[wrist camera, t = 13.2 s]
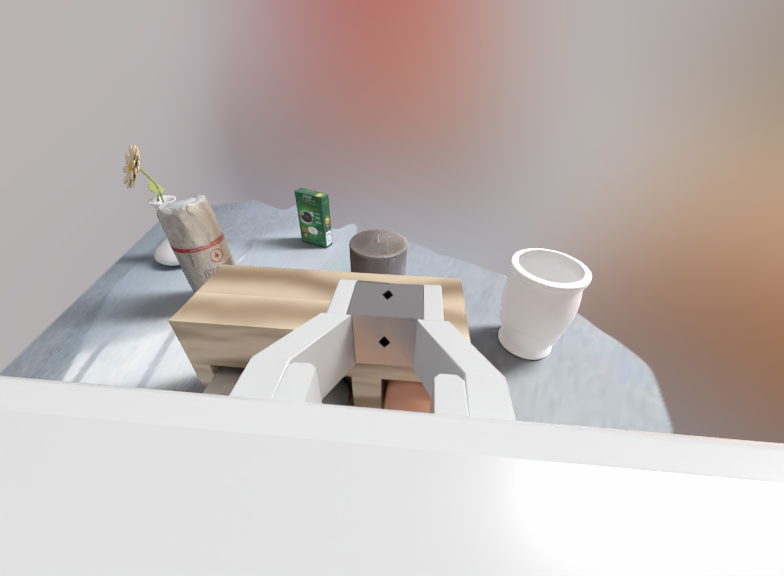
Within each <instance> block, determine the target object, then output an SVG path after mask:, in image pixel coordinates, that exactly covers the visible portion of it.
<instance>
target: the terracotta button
mask: <svg viewBox="0 0 784 576" xmlns="http://www.w3.org/2000/svg"><path fill="white" fill-rule="evenodd" d="M430 405H431V397H430V396H429V394H428V392H427V391H426V389H425V387H424V386H423V384H422V382H413V381H401V380H389V379H388V383H387V391H386V399H385V407H384V409H389V410H401V411H412V412H424V413H429V411H430Z"/></svg>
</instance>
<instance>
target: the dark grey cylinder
mask: <svg viewBox="0 0 784 576" xmlns="http://www.w3.org/2000/svg"><path fill="white" fill-rule="evenodd" d="M349 392H350V383H349V381H348V380H347V379H346V378H345V377H343V378H342V379H341V380H340V381H339V382H338V383H337V384H336V385H335V387H334V388H333V389H332V390H331V391H330V392H329V393H328V394H327V395H326V396H325V397H324V398H323V399H322V404H332V405H343V406H346V405H347V401H348V397H349Z"/></svg>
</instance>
